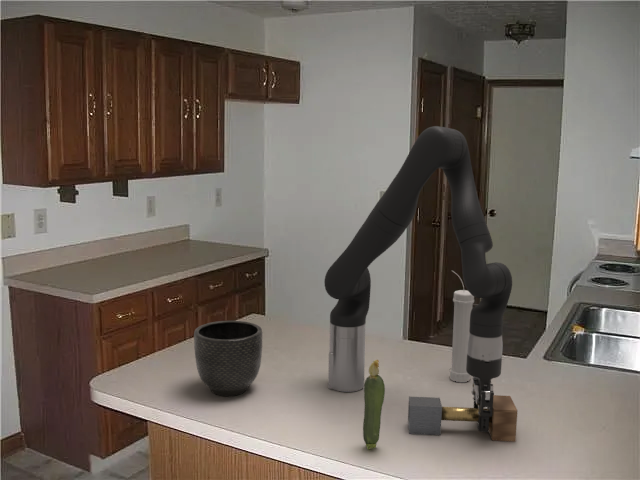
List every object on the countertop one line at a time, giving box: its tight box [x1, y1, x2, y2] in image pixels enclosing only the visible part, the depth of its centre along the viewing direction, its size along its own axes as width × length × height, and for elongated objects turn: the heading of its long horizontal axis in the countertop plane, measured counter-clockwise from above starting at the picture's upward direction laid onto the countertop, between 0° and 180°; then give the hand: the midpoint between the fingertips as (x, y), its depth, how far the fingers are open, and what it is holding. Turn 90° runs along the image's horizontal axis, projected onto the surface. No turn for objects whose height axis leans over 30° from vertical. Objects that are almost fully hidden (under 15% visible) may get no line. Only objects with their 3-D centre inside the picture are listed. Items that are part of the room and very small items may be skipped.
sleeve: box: [407, 396, 443, 436], centre depth 153 cm, size 7×5×7 cm
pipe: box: [449, 270, 475, 383], centre depth 182 cm, size 6×6×30 cm
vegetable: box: [362, 359, 386, 450], centre depth 143 cm, size 4×4×20 cm
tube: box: [441, 406, 493, 423], centre depth 152 cm, size 17×4×4 cm, turn 85°
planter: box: [193, 320, 263, 397], centre depth 174 cm, size 17×17×16 cm
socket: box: [488, 394, 518, 443], centre depth 152 cm, size 5×8×7 cm, turn 175°
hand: (480, 423), depth 152 cm, fingers open, 6 cm apart
